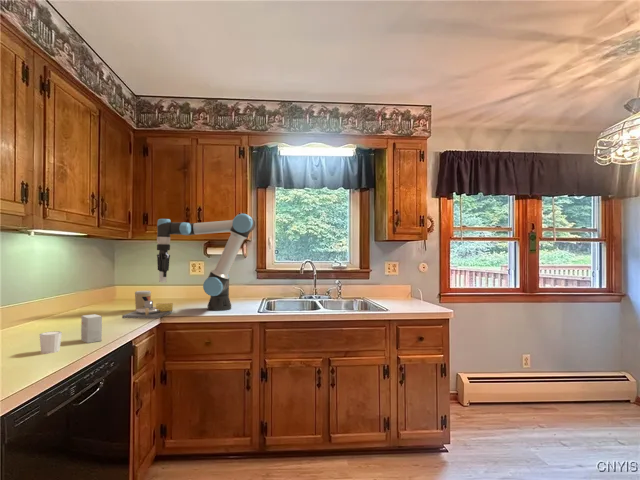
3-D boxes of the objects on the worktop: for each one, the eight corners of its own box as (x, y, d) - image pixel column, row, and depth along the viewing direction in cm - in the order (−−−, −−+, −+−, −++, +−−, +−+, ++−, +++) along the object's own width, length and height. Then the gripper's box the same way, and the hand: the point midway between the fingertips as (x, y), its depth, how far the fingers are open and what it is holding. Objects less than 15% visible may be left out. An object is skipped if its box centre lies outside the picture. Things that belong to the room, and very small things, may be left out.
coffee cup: (144, 312, 229) (144, 292, 229) (131, 311, 231) (131, 291, 231) (154, 309, 238) (154, 290, 238) (141, 309, 240) (141, 290, 240)
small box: (101, 341, 158) (102, 316, 158) (86, 343, 154) (87, 317, 154) (95, 338, 163) (95, 313, 163) (80, 340, 159) (81, 315, 159)
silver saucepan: (135, 314, 210) (136, 303, 211) (136, 310, 222) (136, 300, 222) (172, 312, 218) (173, 301, 219) (171, 309, 230) (171, 298, 230)
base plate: (172, 312, 229) (172, 303, 229) (157, 318, 209) (158, 308, 209) (140, 311, 229) (140, 303, 229) (122, 318, 209) (122, 308, 209)
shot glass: (38, 355, 137) (39, 336, 137) (39, 350, 142) (39, 332, 142) (61, 352, 141) (62, 333, 141) (61, 348, 146) (61, 330, 146)
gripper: (152, 243, 232) (151, 281, 232) (163, 243, 221) (162, 283, 221) (163, 244, 238) (163, 280, 237) (175, 244, 227) (174, 282, 226)
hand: (162, 282), depth 229 cm, fingers open, 3 cm apart
